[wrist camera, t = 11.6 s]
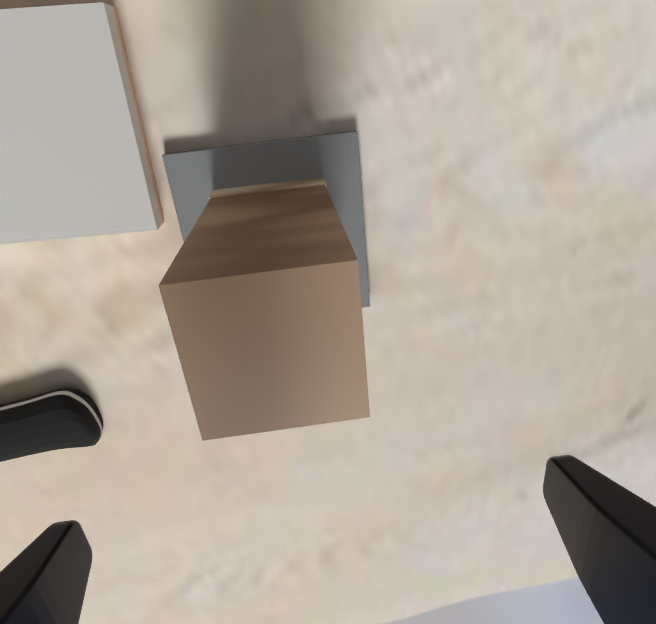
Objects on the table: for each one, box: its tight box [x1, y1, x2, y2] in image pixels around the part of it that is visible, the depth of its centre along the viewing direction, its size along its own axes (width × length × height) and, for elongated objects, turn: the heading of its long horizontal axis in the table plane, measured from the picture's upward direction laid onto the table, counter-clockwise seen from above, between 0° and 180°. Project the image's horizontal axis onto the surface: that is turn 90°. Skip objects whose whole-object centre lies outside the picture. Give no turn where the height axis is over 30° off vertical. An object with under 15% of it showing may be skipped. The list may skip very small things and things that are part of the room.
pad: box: [162, 131, 370, 307], centre depth 19 cm, size 7×7×1 cm
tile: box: [0, 2, 164, 244], centre depth 16 cm, size 7×2×7 cm
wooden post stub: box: [159, 177, 370, 440], centre depth 14 cm, size 4×4×9 cm
